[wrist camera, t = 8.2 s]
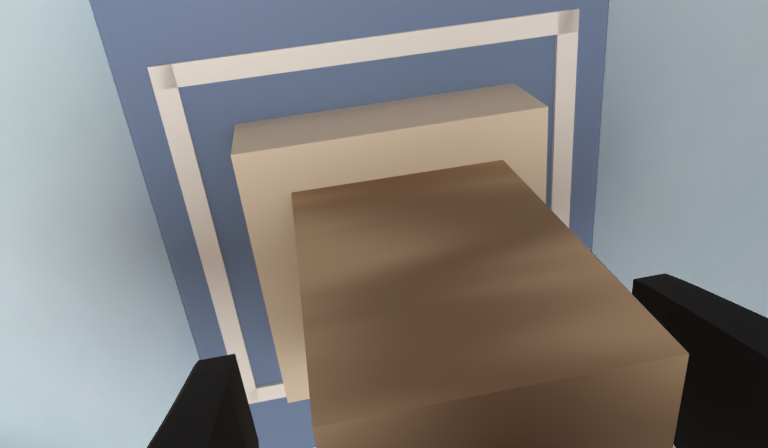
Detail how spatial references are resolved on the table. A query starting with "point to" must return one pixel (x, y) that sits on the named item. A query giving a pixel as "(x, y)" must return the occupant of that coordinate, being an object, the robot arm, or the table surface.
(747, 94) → the table surface
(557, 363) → the oak block
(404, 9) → the blueprint board
